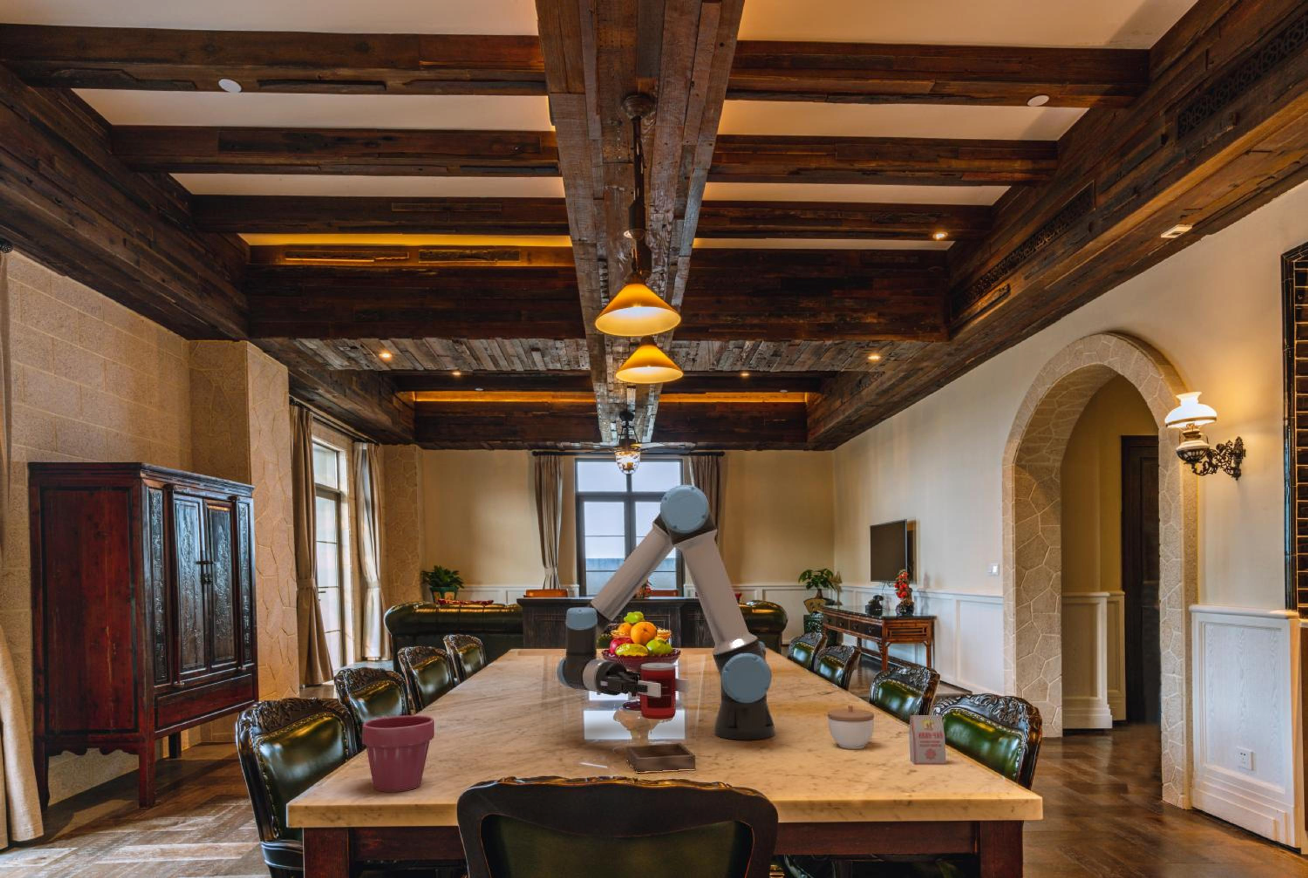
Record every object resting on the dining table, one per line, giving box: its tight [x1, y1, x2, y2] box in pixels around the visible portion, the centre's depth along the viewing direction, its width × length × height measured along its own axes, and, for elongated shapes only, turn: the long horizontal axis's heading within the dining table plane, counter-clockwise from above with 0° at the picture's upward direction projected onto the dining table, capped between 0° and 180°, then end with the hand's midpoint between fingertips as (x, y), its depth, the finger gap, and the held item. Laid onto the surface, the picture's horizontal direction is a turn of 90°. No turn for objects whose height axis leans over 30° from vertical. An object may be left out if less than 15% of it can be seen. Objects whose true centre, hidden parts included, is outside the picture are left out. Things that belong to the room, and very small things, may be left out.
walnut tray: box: [625, 742, 696, 772], centre depth 193 cm, size 13×13×3 cm
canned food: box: [640, 662, 677, 720], centre depth 194 cm, size 8×8×11 cm
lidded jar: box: [827, 704, 875, 750], centre depth 209 cm, size 11×11×9 cm
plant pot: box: [361, 715, 435, 793], centre depth 178 cm, size 14×14×13 cm
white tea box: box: [908, 714, 947, 766], centre depth 193 cm, size 4×7×10 cm, turn 87°
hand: (673, 688), depth 191 cm, fingers closed on canned food, 8 cm apart
